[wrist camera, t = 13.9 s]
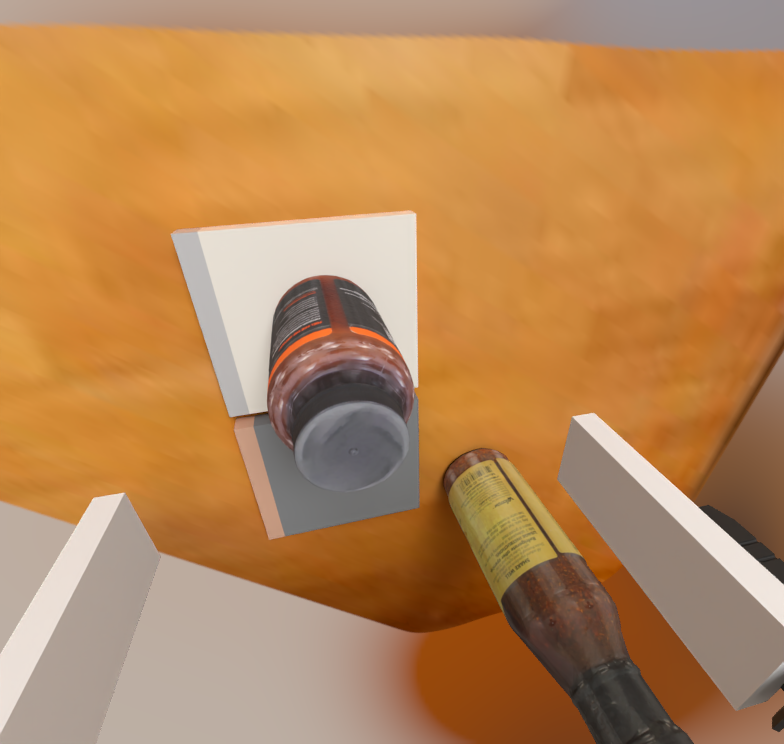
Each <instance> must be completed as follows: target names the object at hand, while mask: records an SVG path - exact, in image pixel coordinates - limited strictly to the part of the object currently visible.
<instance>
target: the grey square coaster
mask: <svg viewBox="0 0 784 744" xmlns="http://www.w3.org/2000/svg"><path fill="white" fill-rule="evenodd" d="M407 427H408V431H409V436H410V443H409V450H408V453H407V455H406V457H405V459H404V461H403V463H402V465H400V466H399V468H398V469H397V470H396V471H395V472H394V473H393V474H392V475H391V476H390V477H389V478H387V479H386V480H385V481H383V482H381V483H379V484H378V485H375V486H373V487H371V488H368V489H364V490H361V491H356V492H347V493H345V492H332V491H327V490H323V489H321V488H319V487H316V486H315V485H313V484H311V483H310V482H309V481H307V480H306V479H305V478H304V477H303V476H302V474H301V473H300V472H299V470H298V468H297V466H296V463H295V459H294V452H293V451H292V450H291V449H289V448H288V447H287V446H286V445H285V444H284V443H283V442H282V440H281V439H280V438H279V437H278V436H277V434H276V433H275V431H274V429H273V427H272V425H271V423H270V419H269V414H262V415H255V416H249V417H243V418H237V419H236V422H235V427H234V432H235V435H236V438H237V441H238V444H239V447H240V450H241V453H242V456H243V460H244V463H245V466H246V469H247V472H248V475H249V478H250V481H251V484H252V488H253V491H254V494H255V497H256V500H257V503H258V506H259V509H260V512H261V515H262V519H263V522H264V525H265V528H266V531H267V534H268V537H269V540H270V539H275V538H280V537H284V536H289V535H294V534H298V533H303V532H308V531H312V530H317V529H322V528H326V527H331V526H336V525H340V524H345V523H350V522H354V521H359V520H364V519H368V518H373V517H378V516H383V515H387V514H392V513H397V512H401V511H406V510H411V509H415V508H419V427H418V398H417V396H416V394H415V392H414V403H413V409H412V413H411V415H410V418H409V420H408V422H407Z"/></svg>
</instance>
